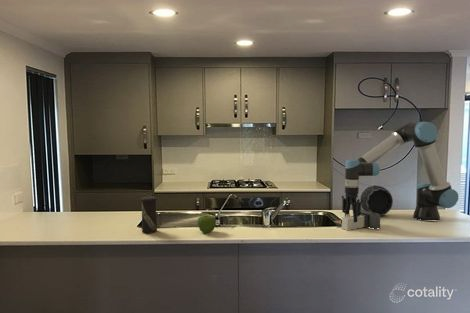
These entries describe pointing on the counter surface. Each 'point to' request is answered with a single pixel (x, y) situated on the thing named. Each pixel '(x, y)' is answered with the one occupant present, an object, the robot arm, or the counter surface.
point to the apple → (206, 223)
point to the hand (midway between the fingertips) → (350, 226)
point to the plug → (361, 222)
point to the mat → (338, 221)
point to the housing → (373, 219)
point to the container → (149, 214)
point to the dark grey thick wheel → (376, 200)
